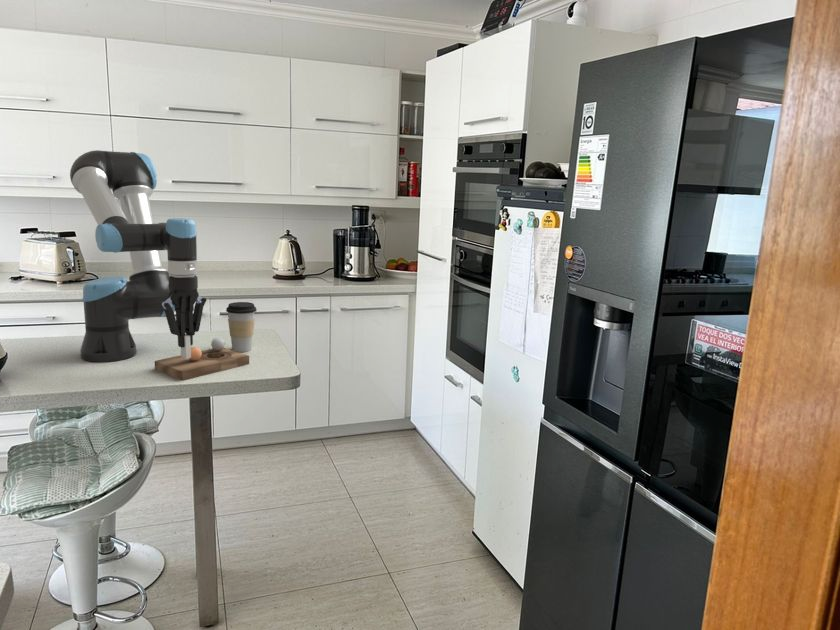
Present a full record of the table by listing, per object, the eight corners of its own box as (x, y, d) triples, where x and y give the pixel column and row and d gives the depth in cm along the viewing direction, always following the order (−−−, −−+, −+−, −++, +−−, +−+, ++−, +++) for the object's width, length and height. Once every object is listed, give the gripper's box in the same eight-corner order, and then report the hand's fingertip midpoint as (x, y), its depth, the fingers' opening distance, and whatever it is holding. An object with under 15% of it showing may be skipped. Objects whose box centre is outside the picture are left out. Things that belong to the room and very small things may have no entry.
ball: (189, 343, 176) (199, 349, 179) (181, 355, 175) (192, 361, 178) (196, 346, 174) (206, 352, 177) (188, 358, 173) (199, 364, 175)
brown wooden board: (154, 369, 175) (154, 360, 174) (220, 354, 192) (220, 346, 191) (182, 380, 166) (182, 371, 166) (249, 363, 184) (249, 355, 183)
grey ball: (208, 350, 187) (208, 337, 186) (220, 347, 190) (219, 335, 189) (216, 352, 184) (216, 340, 184) (227, 350, 188) (227, 337, 187)
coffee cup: (226, 354, 192) (225, 307, 189) (227, 346, 201) (226, 301, 198) (257, 353, 195) (256, 307, 192) (256, 345, 204) (256, 301, 201)
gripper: (168, 279, 162) (171, 364, 166) (211, 274, 172) (213, 355, 177) (153, 275, 166) (157, 359, 171) (196, 271, 176) (199, 350, 181)
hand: (186, 357), depth 174 cm, fingers closed
